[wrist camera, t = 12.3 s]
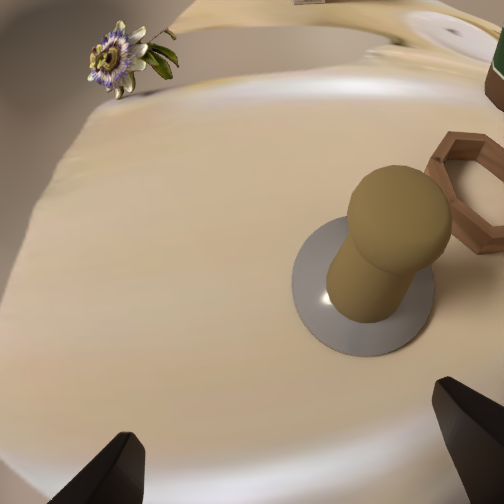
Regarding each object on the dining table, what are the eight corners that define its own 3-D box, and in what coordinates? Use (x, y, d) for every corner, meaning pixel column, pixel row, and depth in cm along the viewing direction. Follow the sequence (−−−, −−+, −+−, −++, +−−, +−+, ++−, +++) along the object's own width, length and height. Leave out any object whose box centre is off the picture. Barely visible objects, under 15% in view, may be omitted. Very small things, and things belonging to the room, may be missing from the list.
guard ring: (534, 247, 21) (551, 233, 19) (445, 257, 23) (460, 241, 20) (496, 154, 26) (506, 136, 23) (411, 151, 27) (418, 130, 25)
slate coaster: (441, 345, 20) (444, 344, 19) (296, 364, 21) (296, 363, 21) (414, 214, 25) (416, 211, 24) (287, 223, 26) (286, 220, 25)
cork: (362, 230, 24) (392, 127, 14) (419, 281, 22) (488, 202, 12) (308, 283, 23) (312, 196, 13) (368, 341, 21) (425, 296, 11)
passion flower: (136, 121, 43) (68, 88, 35) (160, 70, 45) (101, 37, 37) (173, 91, 35) (91, 46, 27) (199, 37, 37) (131, -5, 29)
